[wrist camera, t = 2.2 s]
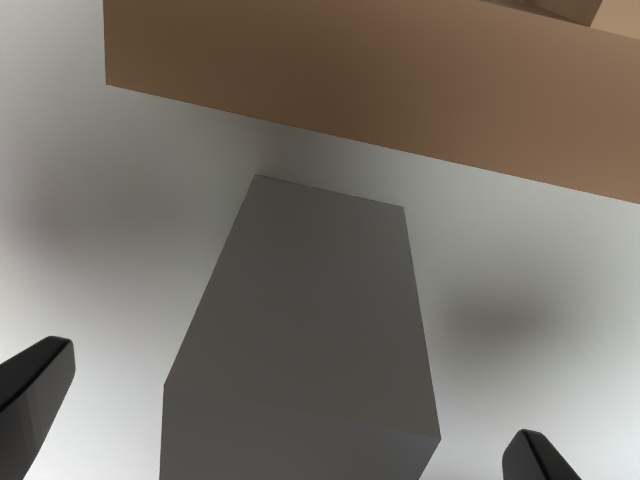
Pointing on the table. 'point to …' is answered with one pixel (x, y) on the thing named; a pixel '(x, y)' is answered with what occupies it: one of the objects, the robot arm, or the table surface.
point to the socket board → (409, 76)
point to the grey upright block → (304, 349)
